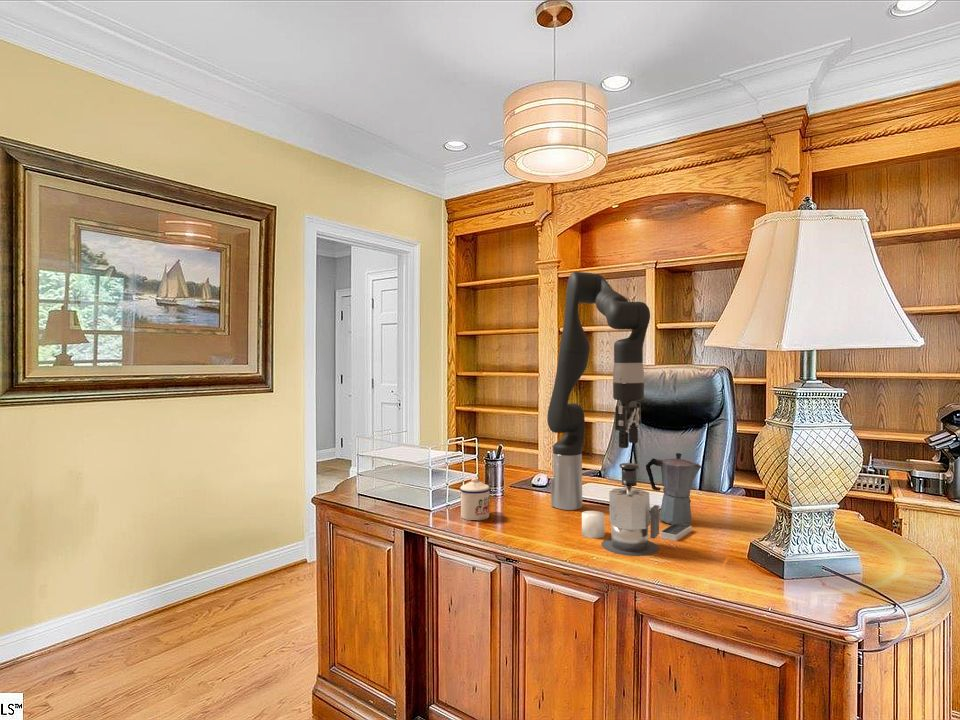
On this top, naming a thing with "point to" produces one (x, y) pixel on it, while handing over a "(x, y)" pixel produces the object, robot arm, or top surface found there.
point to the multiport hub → (675, 531)
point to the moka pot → (675, 488)
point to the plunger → (629, 475)
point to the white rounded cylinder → (593, 524)
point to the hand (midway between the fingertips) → (628, 445)
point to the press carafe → (632, 519)
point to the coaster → (651, 550)
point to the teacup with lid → (475, 500)
